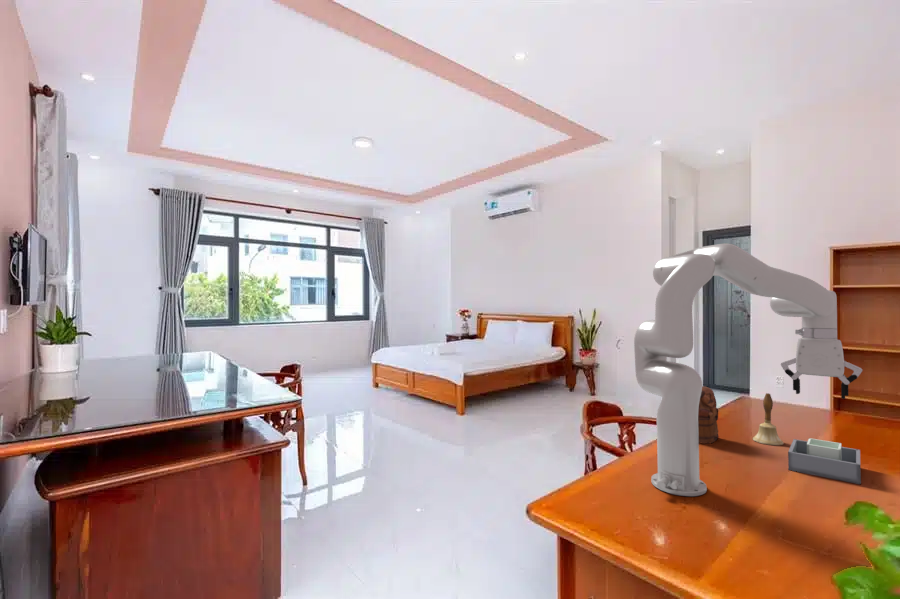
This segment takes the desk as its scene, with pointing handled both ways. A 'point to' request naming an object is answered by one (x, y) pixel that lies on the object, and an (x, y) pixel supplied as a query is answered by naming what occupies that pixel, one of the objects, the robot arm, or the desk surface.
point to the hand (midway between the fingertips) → (820, 395)
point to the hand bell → (768, 426)
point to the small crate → (824, 449)
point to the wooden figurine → (707, 416)
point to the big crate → (825, 463)
